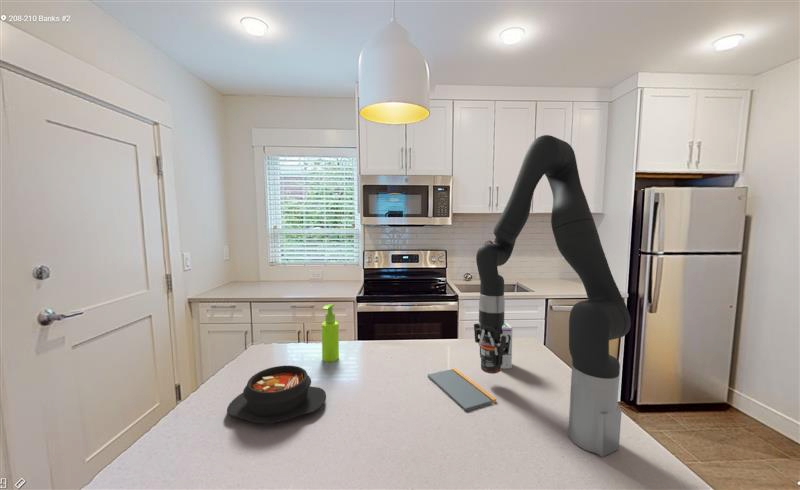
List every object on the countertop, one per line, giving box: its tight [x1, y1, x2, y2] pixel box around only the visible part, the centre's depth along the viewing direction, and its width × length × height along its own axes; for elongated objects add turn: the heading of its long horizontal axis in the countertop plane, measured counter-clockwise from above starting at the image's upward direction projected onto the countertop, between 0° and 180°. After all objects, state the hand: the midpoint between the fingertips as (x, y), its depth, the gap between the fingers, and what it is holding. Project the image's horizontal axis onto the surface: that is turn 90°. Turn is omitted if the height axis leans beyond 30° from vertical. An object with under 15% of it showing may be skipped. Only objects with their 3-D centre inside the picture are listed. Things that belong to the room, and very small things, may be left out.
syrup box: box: [501, 322, 513, 370], centre depth 110 cm, size 6×6×14 cm
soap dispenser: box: [321, 303, 340, 363], centre depth 114 cm, size 6×7×20 cm
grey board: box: [427, 367, 497, 412], centre depth 95 cm, size 20×11×1 cm, turn 25°
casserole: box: [226, 365, 327, 424], centre depth 84 cm, size 25×19×8 cm
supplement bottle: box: [480, 334, 502, 375], centre depth 97 cm, size 6×6×11 cm
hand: (490, 361), depth 97 cm, fingers closed on supplement bottle, 6 cm apart
